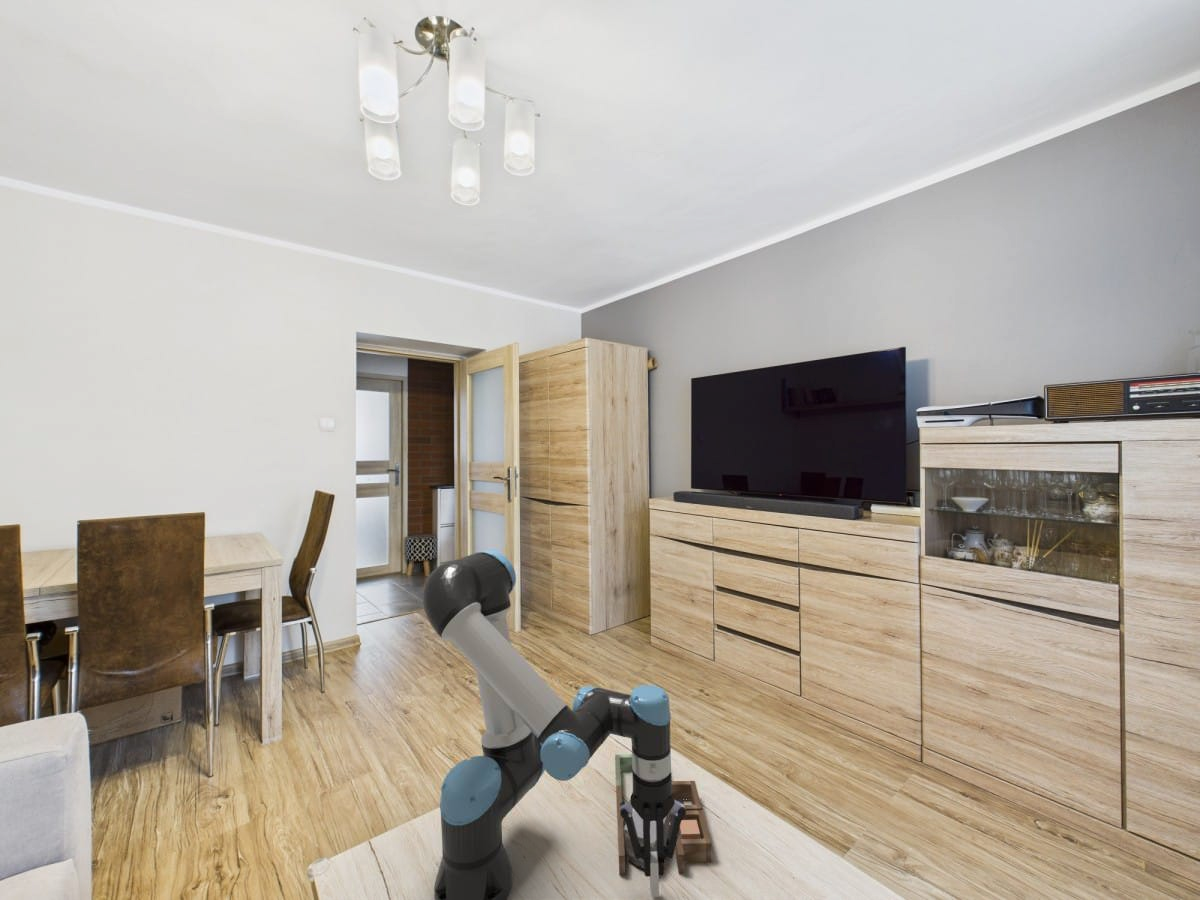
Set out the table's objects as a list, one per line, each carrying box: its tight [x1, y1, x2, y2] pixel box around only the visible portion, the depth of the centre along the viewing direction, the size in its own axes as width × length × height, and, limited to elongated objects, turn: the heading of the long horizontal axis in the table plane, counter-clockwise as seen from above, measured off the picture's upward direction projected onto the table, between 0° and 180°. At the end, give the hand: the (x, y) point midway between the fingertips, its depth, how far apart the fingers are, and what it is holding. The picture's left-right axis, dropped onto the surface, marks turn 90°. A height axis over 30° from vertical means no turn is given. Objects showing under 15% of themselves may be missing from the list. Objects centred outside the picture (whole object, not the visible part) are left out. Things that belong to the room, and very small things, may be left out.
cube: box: [678, 820, 700, 839], centre depth 111 cm, size 4×4×4 cm
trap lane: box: [614, 753, 713, 876], centre depth 120 cm, size 20×33×4 cm, turn 0°
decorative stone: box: [623, 810, 671, 870], centre depth 110 cm, size 15×7×10 cm
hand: (654, 890), depth 98 cm, fingers closed
